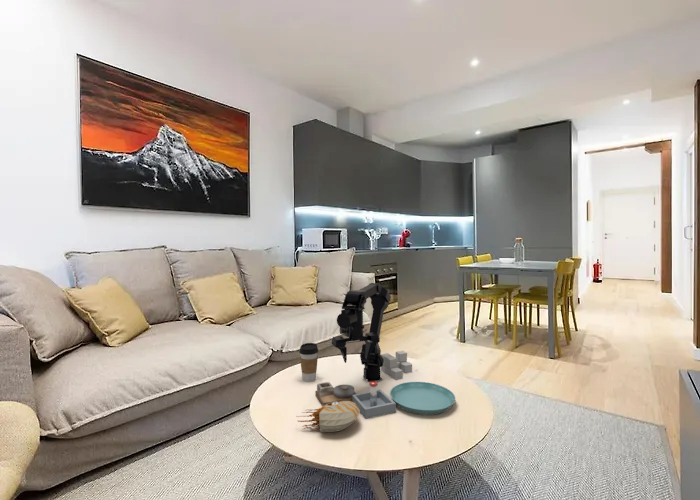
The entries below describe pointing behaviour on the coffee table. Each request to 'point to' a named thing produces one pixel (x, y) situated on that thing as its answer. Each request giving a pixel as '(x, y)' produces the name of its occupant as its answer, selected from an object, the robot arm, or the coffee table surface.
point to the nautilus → (334, 416)
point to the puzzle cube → (396, 365)
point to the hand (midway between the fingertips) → (356, 360)
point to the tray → (382, 408)
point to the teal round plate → (422, 397)
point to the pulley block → (333, 393)
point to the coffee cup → (308, 361)
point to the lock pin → (373, 393)
